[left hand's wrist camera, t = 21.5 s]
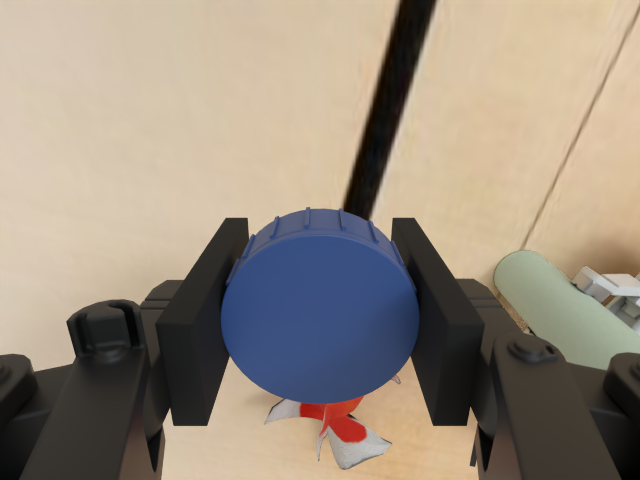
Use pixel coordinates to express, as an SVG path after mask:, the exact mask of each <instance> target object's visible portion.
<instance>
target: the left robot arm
mask: <svg viewBox="0 0 640 480" xmlns="http://www.w3.org/2000/svg"><path fill="white" fill-rule="evenodd" d="M392 240H393V241H394V243H395V245H396V247H397V249H398V251H399V254H400V256H401V258H402V260H403V262H404V265H403V266H406V268H407V270H408V272H409V274H410V276H411V279H412V281H413V283H414V285H415V287H416V290H417V293H416V296H417V300H418V305H419V311H420V321H419V330H418V337H417V341H416V344H415V346H414V349H413V351H412V353H411V355H410V356H411V359H412V362H413V365H414V368H415V371H416V374H417V377H418V381H419V384H420V387H421V390H422V393H423V396H424V399H425V402H426V405H427V408H428V411H429V414H430V417H431V421H432V424H433V426H467V421H468V416H469V410H470V406H471V408H472V410H473V413H474V415H475V417H476V419H477V421H478V424H477V429H476V435H475V440H474V445H473V450H472V455H471V461H470V466H473V467H475V465H476V460H477V465H478V474H479V480H640V353H632V352H625V353H617V354H616V355H614V356H613V357H612V358H611V359H610V362H609V365H608V368H607V370H603V369H598V368H593V367H588V366H583V365H578V364H573V363H570V362H566V359H565V357H564V356H563V354H562V353H561V352H560V350H559V349H558V348H557V347H555V346H554V345H552V344H551V343H550V342H548V341H546V340H544V339H542V338H539V337H537V336H535V335H530V334H526V333H523V331H522V330H521V329H520V328H519V326H518V325H517V324H516V323H515V321H514V320H513V319H512V318H511V316H510V315H509V314H508V313H507V311H506V310H505V309H504V308H502V305H501V304H500V303H499V301H498V300H496V298H495V296H494V295H493V294H492V293H491V291H490V290H489V289H488V288H487V287H486V286H484V285H483V284H481V283H479V282H478V281H476V280H474V279H455V278H454V276H453V275H452V273H451V272H450V270H449V269H448V267H447V266H446V264H445V263H444V261H443V260H442V258H441V257H440V255H439V254H438V252H437V251H436V250H435V248H434V247H433V245H432V244H431V242H430V241H429V239H428V238H427V236H426V235H425V233H424V232H423V230H422V229H421V227H420V226H419V224H418V223H417V221H416V220H415V218H393V221H392V235H391V241H392ZM248 242H249V232H248V218H226V219H225V220H224V222H223V223H222V225H221V226H220V228H219V229H218V231H217V232H216V234H215V235H214V237H213V238H212V239H211V241H210V242H209V244H208V245H207V247H206V248H205V250H204V251H203V253H202V254H201V256H200V257H199V259H198V260H197V262H196V263H195V265H194V266H193V268H192V269H191V271H190V272H189V274H188V275H187V277H186V278H185V280H167V281H165V282H163V283H162V284H160V285H158V286H157V287H155V288H154V289H153V290H152V291H151V292H150V293H149V295H148V296H147V297H146V298H145V301H143V302H142V303H141V305H140V306H139V305H138V304H136V303H135V302H133V301H129V300H124V299H123V300H108V301H103V302H98V303H95V304H92V305H90V306H87V307H84V308H83V309H81V310H79V311H78V312H76V313H74V314H73V315H72V316H71V317H70V318H69V319H68V320H67V321H66V322H67V326H68V330H69V333H70V337H71V340H72V344H73V348H74V351H75V355H76V358H75V360H74V362H73V364H70V365H66V366H61V367H56V368H51V369H46V370H41V371H36V372H34V370H33V367H32V364H31V361H30V359H28V358H27V357H26V356H24V355H18V354H7V355H0V480H161V476H162V466H163V457H164V448H165V435H164V429H163V422H164V420H165V417H166V415H167V413H168V411H169V409H171V414H172V420H173V425H174V426H207V424H208V421H209V418H210V415H211V412H212V409H213V406H214V403H215V400H216V397H217V394H218V391H219V387H220V384H221V381H222V378H223V375H224V372H225V369H226V366H227V363H228V360H229V357H230V355H229V353H228V350H227V348H226V346H225V343H224V340H223V336H222V328H221V315H220V313H221V306H222V301H223V297H224V295H225V292H226V289H227V287H228V286H227V285H225V284H226V281H227V279H228V277H229V275H230V273H231V271H232V268H233V266H234V264H235V262H236V260H237V258H238V259H240V258H241V255H242V254H243V252H244V250H245V248H246V246H247V244H248Z"/></svg>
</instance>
